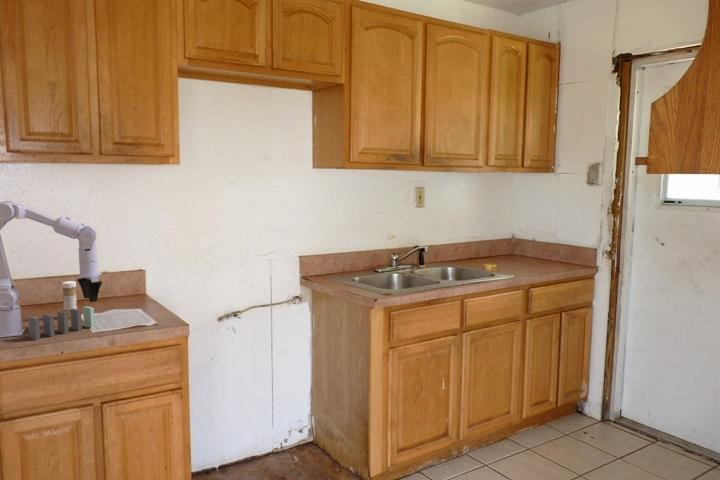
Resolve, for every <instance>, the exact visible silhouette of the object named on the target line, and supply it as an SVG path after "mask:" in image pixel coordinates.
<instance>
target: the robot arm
mask: <svg viewBox="0 0 720 480" xmlns="http://www.w3.org/2000/svg"><path fill="white" fill-rule="evenodd" d="M13 219H15V220H18V219H19V220H21V219H28V220H31V221H34V222H37V223H40V224H43V225H45V226H49V227H52V229H53V231H54V232H55V233H56V234H59V235H62V236H63V237H64V236H65V237H67V238H70V239H73V240H76V239H77V240H78V246H79V247H78V265H79V275H78V276H79V278H77V279H76V281H77V283H78V284H79V286H80V290H81V292H82V296H83V299H88V301H89V302H90V303H94V302H98V297H99V292H100V289H101V286H102V285H103V281H102V280H99V276H101V275H103V273H102V272H100V271H99V268H98V267H99V265H98V249H97V242H96V239H97V232H96V230H95V229H94V228H93V227H92V226H90V225H86V224H85V223H84V222H81V223H79V222H77V221H75V220H72V219H71V217H69V216H66V217H65V216H59V217H57V218H56V217H53V216H52V215H49V214H47V213H45V212H42V211H40V210H37V209H34V208H33V207H30V206H27V205H24V204H20V203H14V202H12V201H9V200H4V201H0V231H2V229H3V228H4V227H5V225H6V224H7V223H9V222H10V221H12V220H13ZM20 296H21V293H20V290H19V289H18V288H17V287H16V285H15V282H14V280H13V278H12V275H11V272H10V268H9V264H8V259H7V254H6V250H5V248H4V243H3V239H2V236H1V234H0V338H8V337H18V336H22V335H24V332H25V330H26V328H23V323H22V310H21V308H22V307H21V304H19V302H18V301H19V299H20V298H21V297H20Z"/></svg>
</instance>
